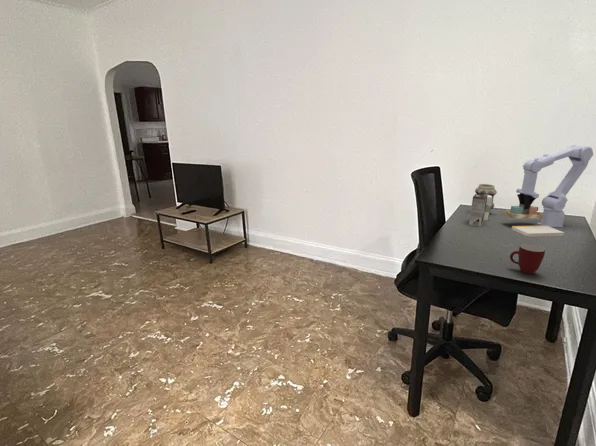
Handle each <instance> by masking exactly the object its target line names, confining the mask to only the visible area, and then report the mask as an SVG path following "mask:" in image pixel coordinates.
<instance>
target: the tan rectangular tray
mask: <svg viewBox="0 0 596 446" xmlns="http://www.w3.org/2000/svg"><path fill="white" fill-rule="evenodd" d="M524 205H525V204H520V203H519V204H518V206H520V207H523V212H522V214H512V213H510V210H511V209H510V210H505V209H504V210H502V213H501V214H502V215H504V216H506V217H509V218H510V219H511V218H512V219H542V218H544V215H543V213H540V212H538V211H537V212H536V214H529V209H530V208H529V209H524Z"/></svg>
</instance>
